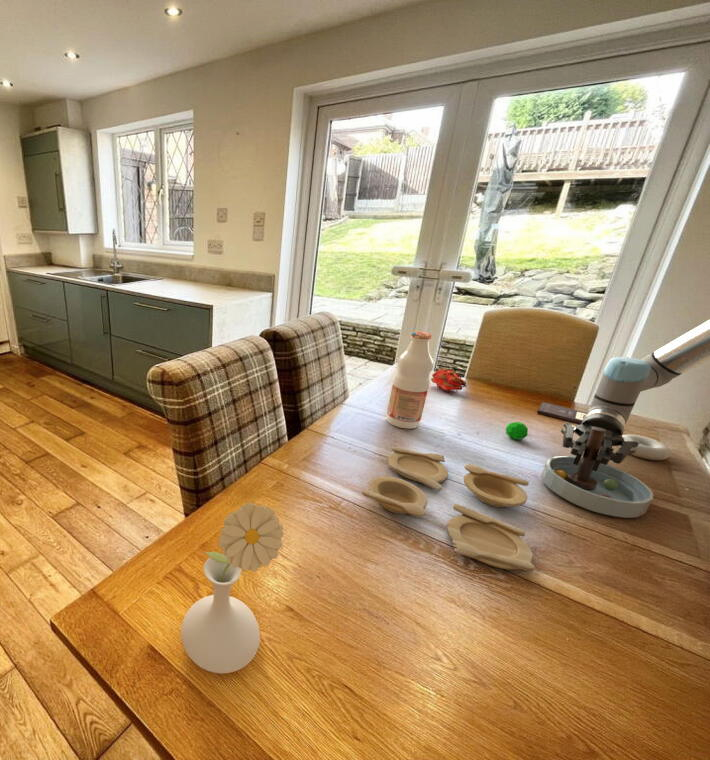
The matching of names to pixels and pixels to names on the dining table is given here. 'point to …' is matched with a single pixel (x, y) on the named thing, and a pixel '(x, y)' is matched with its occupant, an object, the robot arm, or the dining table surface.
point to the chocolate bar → (561, 412)
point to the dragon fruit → (448, 380)
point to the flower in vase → (221, 611)
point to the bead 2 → (610, 484)
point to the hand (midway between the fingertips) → (586, 462)
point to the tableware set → (459, 507)
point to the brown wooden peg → (588, 461)
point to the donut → (648, 448)
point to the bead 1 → (561, 474)
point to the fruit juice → (411, 383)
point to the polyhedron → (516, 430)
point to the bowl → (599, 489)
